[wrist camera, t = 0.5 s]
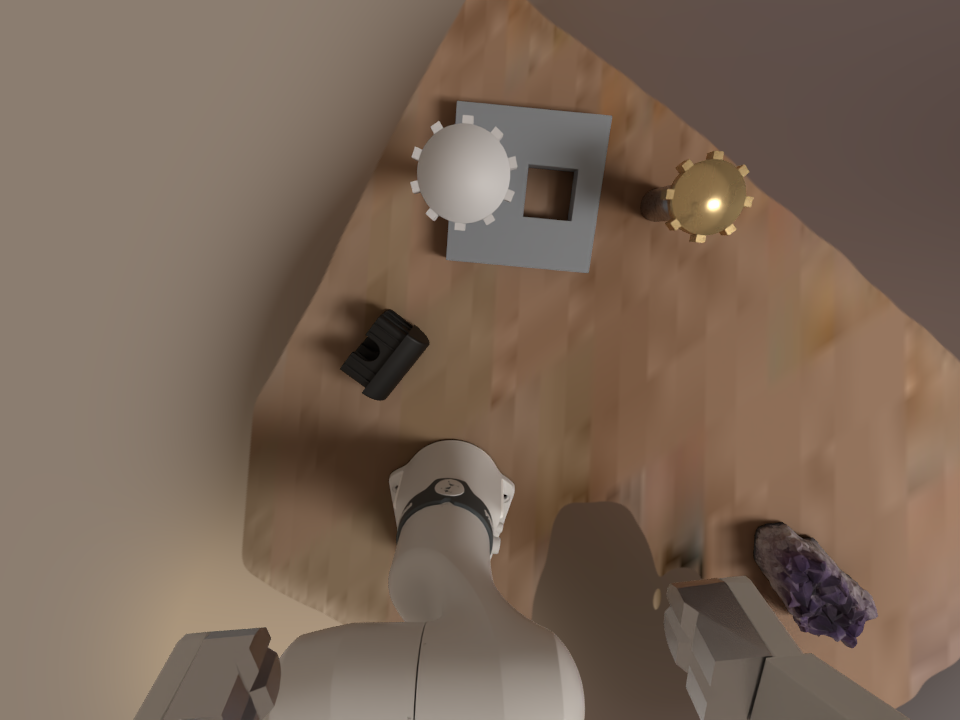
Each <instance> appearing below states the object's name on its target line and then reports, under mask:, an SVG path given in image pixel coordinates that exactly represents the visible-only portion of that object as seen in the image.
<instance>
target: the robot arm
mask: <svg viewBox="0 0 960 720" xmlns="http://www.w3.org/2000/svg"><path fill="white" fill-rule="evenodd" d="M389 485H390V490H391V496H392V502H393V507H394V513H395V519H396V524H397V536H396V543H397V547H396V550H395V554H394V558H393V561H392V565H391V568H390V572H389V578H388V587H389V593H390V597H391V600H392V602H393V605H394V606H395V608H396V610H397V611H398V613H399V614H400V616H401V617H402V618H403V620H404V621H405V622H372V623H350V624H345V625H340V626H336V627H331V628H327V629H323V630H319V631H315V632H311V633H307V634H303V635H301V636H299V637H298V638H297V639H296V640H295V641H294V642H293V643H292V644H291V645H290V646H289V647H288V648H287V649H286V650H285V652H284V653H283V654H282V655H281V657H280V658H279V657H278V654H277V653H276V652H274V651H273V650H271V649H270V648H268V645H269V643H270V640H271V637H270V635H269V633H268V630H267V628H266V627H264V628H252V629H240V630H227V631H214V632H203V633H192V634H186V635H185V636H184V637H183V638H182V639H181V640H179V641H178V643H177V644H176V646H175V648H174V649H173V651H172V653H171V655H170V657H169V658H168V660H167V662H166V663H165V665H164V667H163V669H162V670H161V672H160V674H159V676H158V678H157V679H156V681H155V683H154V684H153V686H152V688H151V690H150V691H149V693H148V695H147V697H146V699H145V700H144V702H143V704H142V706H141V707H140V709H139V711H138V713H137V715H136V716H135V718H134V720H584V717H585V702H584V692H583V686H582V682H581V678H580V675H579V672H578V669H577V667H576V664H575V662H574V660H573V658H572V656H571V655H570V652H569V651H568V649H567V648H566V647H565V645H564V644H563V642H562V641H561V640H560V639H559V638H558V637H557V636H556V635H555V634H554V633H553V632H552V631H550V630H549V629H546V628H544V627H542V626H540V625H538V624H536V623H534V622H533V621H531V620H530V619H528V618H526V617H525V616H524V615H522V614H521V613H519V612H518V611H517V610H516V609H515V608H514V607H512V606H511V605H510V604H509V603H508V602H507V601H506V600H505V599H504V597H503V596H502V595H501V594H500V592H499V591H498V590H497V588H496V586H495V585H494V582H493V578H492V572H491V564H490V560H491V557H492V554H493V553H494V554H498V552H499V548H500V538H499V535H500V533H501V532H502V529H503V523H504V520H505V518H506V515H507V512H508V509H509V506H510V503H511V501H512V498H513V495H514V491H515V486H514V484H513V482H512V481H510V480H509V479H508V478H507V477H505V476H504V475H502V474H501V473H500V472H499V470H498V469H497V467H496V465H495V463H494V462H493V460H492V459H491V458H490V457H489V456H488V455H487V454H486V453H485V452H484V451H483V450H481V449H480V448H478V447H476V446H474V445H472V444H470V443H467V442H463V441H457V440H445V441H439V442H436V443H433V444H430V445H428V446H426V447H424V448H423V449H421V450H420V451H419V452H418V453H417V454H416V455H415V456H414V457H413V458H412V459H411V460H410V462H409V463H408V464H406V465H405V466H403V467H401V468H399V469H397V470H395V471H394V472H392V473H391V475H390V478H389ZM397 485H398V487H396V486H397ZM504 494H505V495H507V496H506V497H504ZM667 598H668V601H669V603H670V605H671V606H670V607H669V608H668V609H667V610H666V611H665V614H664V628H665V634H666V639H667V642H668V645H669V648H670V651H671V654H672V656H673V658H674V661H675V663H676V664H677V665H678V666H679V667H681V668H682V669H683V670H684V671H685V672H687V673H688V677H687V684H686V688H687V690H688V693H689V695H690V697H691V699H692V701H693V704H694V706H695V708H696V711H697V713H698V715H699V717H700V720H911V719H909V718H907V717H906V716H905V715H903V714H902V713H900V712H899V711H897V710H896V709H894V708H893V707H891V706H890V705H888V704H887V703H885V702H884V701H882V700H881V699H879V698H878V697H876V696H875V695H873V694H872V693H870V692H869V691H867V690H866V689H864V688H863V687H861V686H860V685H858V684H857V683H855V682H854V681H852V680H851V679H849V678H848V677H846V676H845V675H843V674H842V673H840V672H839V671H837V670H836V669H834V668H833V667H831V666H830V665H828V664H827V663H825V662H824V661H822V660H821V659H819V658H818V657H816V656H815V655H813V654H812V653H807V654H803V653H802V651H801V650H800V648H799V647H798V646H797V644H796V643H795V641H794V640H793V639H792V637H791V636H790V634H789V633H788V632H787V630H786V629H785V627H784V626H783V625H782V623H781V622H780V620H779V619H778V618H777V616H776V615H775V613H774V612H773V611H772V609H771V608H770V606H769V605H768V604H767V602H766V601H765V599H764V598H763V597H762V595H761V594H760V592H759V591H758V589H757V588H756V587H755V585H754V584H753V582H752V581H751V580H750V579H749V578H747V577H746V576H736V577H727V578H719V579H718V578H712V579H704V580H696V581H687V582H679V583H672V584H670V585H669V586H668V589H667Z"/></svg>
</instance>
